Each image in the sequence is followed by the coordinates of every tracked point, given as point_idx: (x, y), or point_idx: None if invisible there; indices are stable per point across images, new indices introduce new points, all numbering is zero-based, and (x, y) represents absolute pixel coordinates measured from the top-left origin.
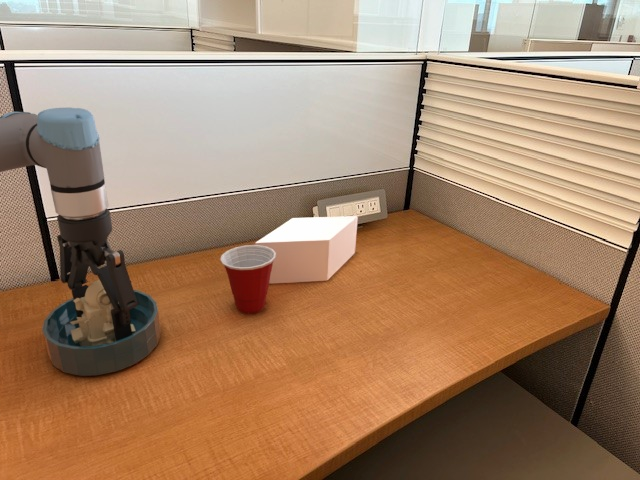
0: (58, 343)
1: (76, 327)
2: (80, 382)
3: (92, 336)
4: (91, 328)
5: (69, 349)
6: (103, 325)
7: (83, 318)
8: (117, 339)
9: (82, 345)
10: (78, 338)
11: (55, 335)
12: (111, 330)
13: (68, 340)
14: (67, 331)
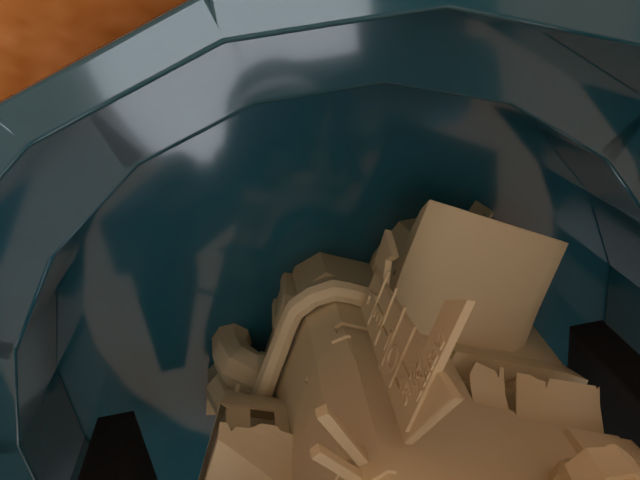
0: (240, 21)
1: (618, 278)
2: (57, 35)
3: (326, 325)
4: (335, 380)
5: (54, 73)
6: (290, 463)
7: (415, 426)
8: (101, 444)
9: (406, 224)
10: (420, 238)
11: (595, 120)
12: (207, 469)
13: (548, 183)
14: (616, 218)
